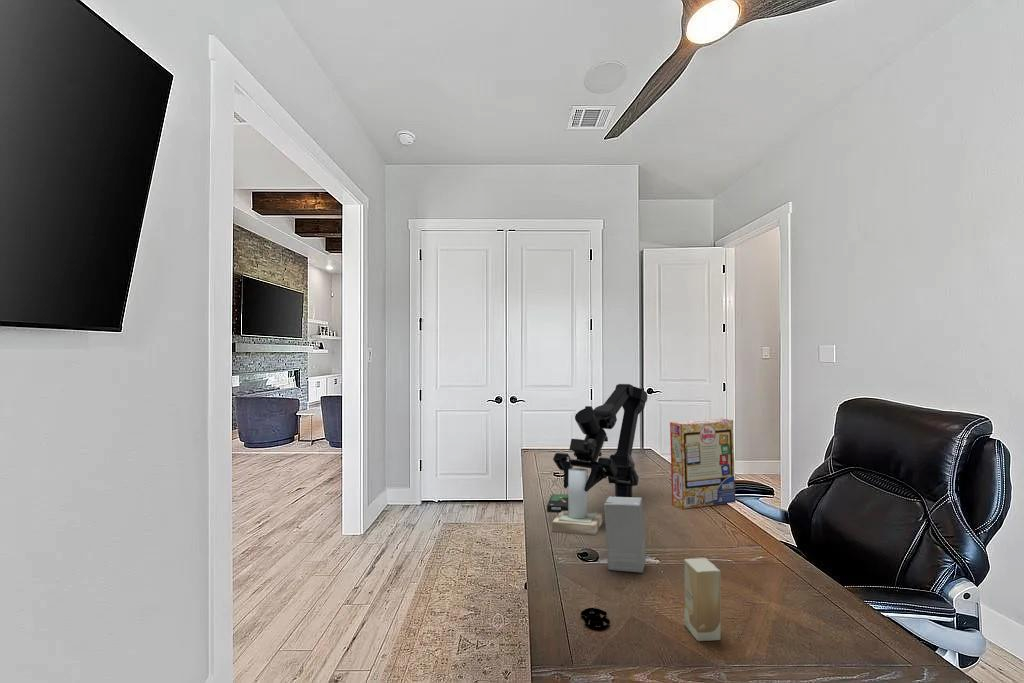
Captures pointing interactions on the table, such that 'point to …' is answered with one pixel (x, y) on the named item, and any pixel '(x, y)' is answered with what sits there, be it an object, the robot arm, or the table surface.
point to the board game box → (702, 463)
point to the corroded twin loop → (595, 618)
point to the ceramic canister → (577, 493)
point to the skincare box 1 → (625, 534)
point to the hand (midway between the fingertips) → (575, 489)
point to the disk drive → (558, 503)
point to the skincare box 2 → (702, 599)
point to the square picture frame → (577, 523)
